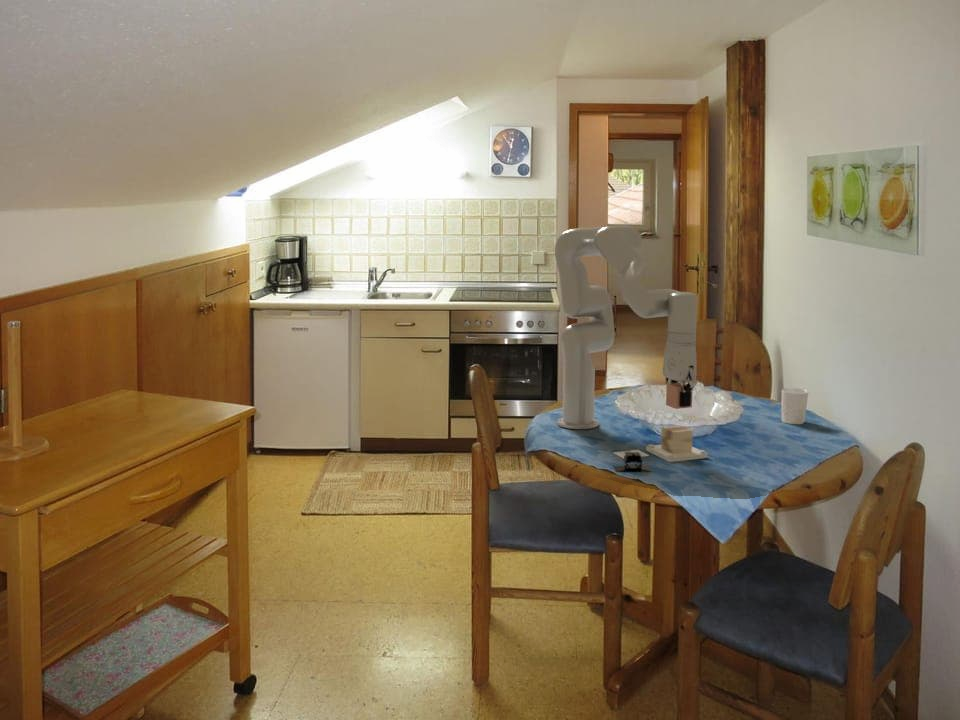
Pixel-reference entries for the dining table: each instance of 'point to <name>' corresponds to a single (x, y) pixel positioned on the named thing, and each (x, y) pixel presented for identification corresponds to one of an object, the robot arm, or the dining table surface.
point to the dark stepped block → (632, 468)
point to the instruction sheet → (622, 454)
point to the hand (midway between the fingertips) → (679, 403)
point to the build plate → (676, 454)
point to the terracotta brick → (675, 395)
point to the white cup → (794, 405)
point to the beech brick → (676, 439)
